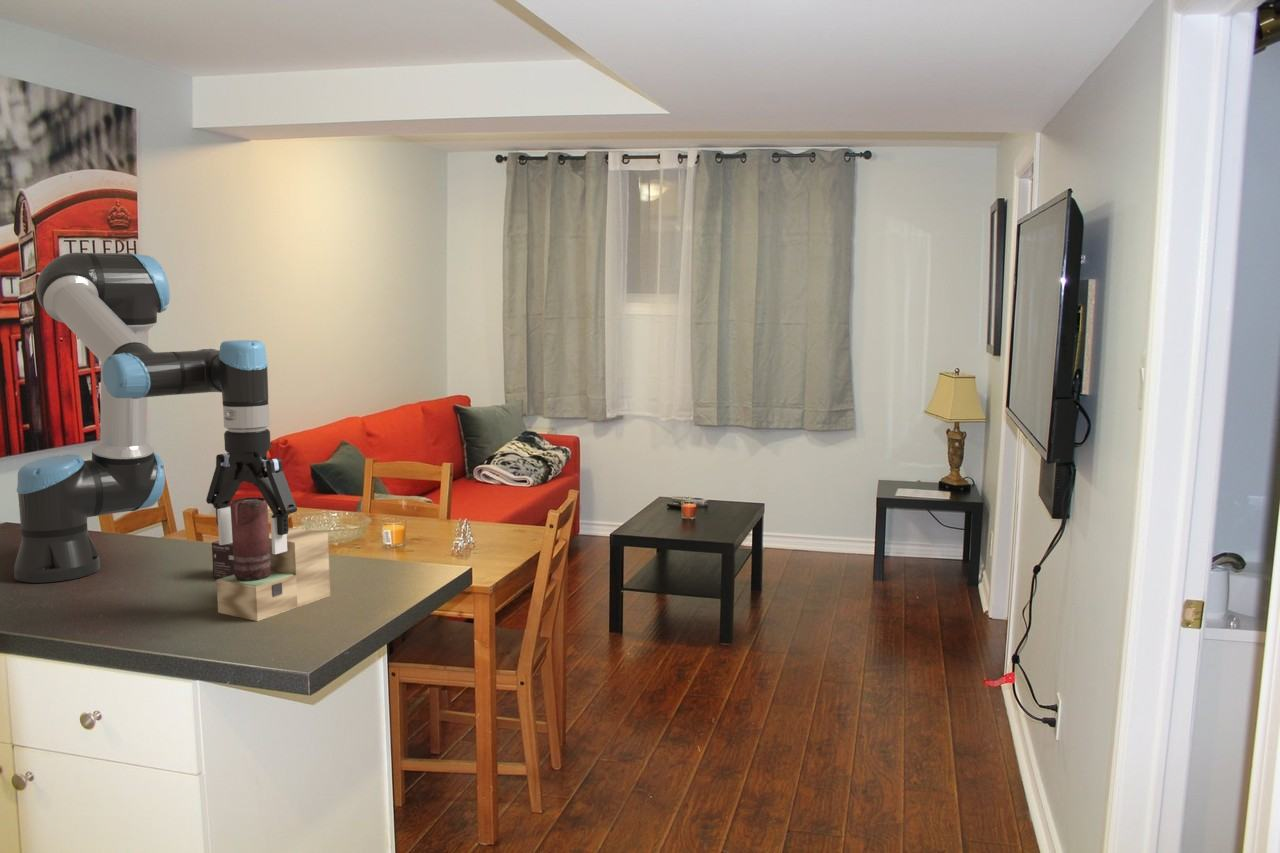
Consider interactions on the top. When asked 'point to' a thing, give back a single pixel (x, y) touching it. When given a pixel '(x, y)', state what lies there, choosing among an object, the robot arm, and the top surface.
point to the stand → (281, 580)
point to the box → (222, 560)
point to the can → (250, 538)
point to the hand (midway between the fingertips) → (252, 548)
